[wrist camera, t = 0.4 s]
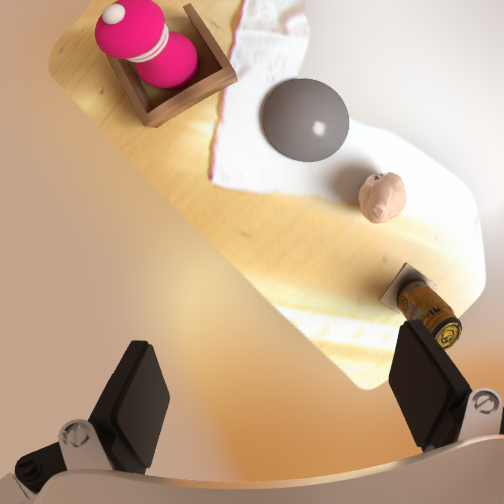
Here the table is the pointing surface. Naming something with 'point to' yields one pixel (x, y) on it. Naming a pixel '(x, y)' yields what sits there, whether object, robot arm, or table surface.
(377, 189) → the beige plush toy
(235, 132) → the table surface
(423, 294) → the condiment
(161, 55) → the pepper mill
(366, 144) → the table surface
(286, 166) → the table surface
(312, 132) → the coaster
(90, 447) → the robot arm
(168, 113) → the cradle
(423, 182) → the table surface
